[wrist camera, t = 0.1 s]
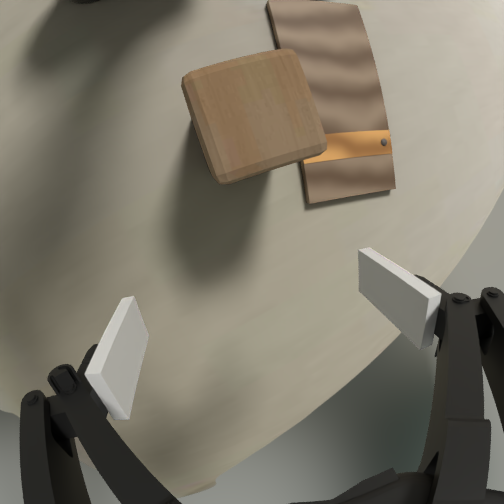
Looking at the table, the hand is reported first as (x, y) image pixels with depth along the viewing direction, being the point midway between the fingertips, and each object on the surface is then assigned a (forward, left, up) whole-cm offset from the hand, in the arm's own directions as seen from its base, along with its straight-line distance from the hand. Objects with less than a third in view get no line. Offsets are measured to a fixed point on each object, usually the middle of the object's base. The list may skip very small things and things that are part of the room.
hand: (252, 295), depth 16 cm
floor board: (-16, +21, -28) cm, 38 cm away
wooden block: (-11, +4, -28) cm, 30 cm away
